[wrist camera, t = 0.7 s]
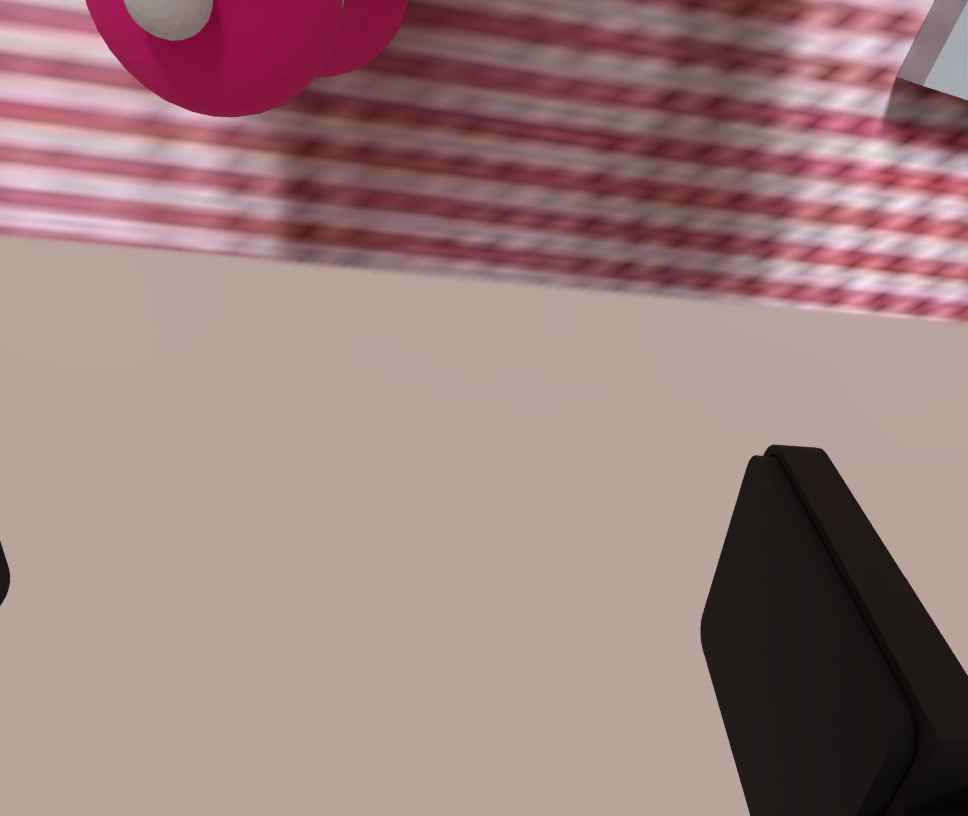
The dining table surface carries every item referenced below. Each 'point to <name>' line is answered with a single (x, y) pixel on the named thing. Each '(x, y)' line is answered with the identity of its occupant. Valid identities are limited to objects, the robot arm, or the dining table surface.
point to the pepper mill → (242, 46)
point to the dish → (941, 50)
